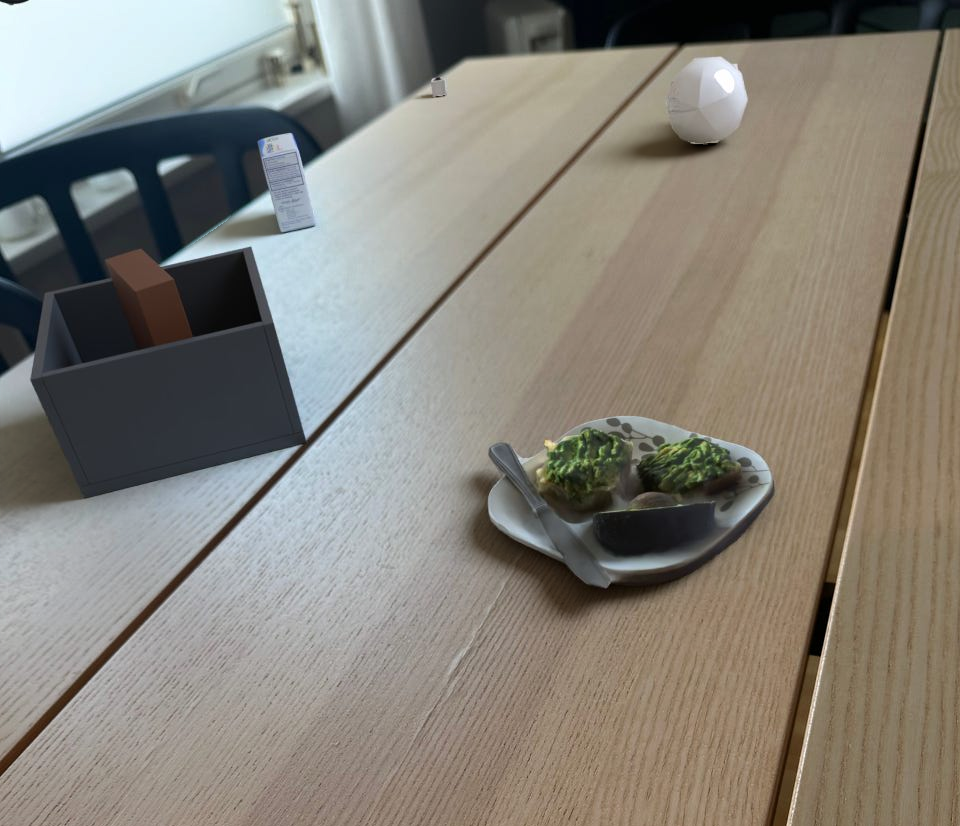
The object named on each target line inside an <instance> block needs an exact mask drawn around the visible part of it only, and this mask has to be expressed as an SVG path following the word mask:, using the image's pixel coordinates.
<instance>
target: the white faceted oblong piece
mask: <svg viewBox="0 0 960 826" xmlns="http://www.w3.org/2000/svg"><path fill="white" fill-rule="evenodd" d="M742 73H743V72H741V71H740V68H739V65H738V63H731V62H730V61H728V60H727V59H725V58H724V57H722V56H709V57H708V56H707V57H694V58H693V59H692V60H691V61H690V62H689V63H687V64H686V65H685V66H684V67H683V68H681V70H679V71H678V72H677V73H676V74H675V75H674V76H673V78H672V81H671V84H670V87H669V90H668V93H667V96H666V97H667V98H666V100H665V106H666V107H665V108H666V112H667V117H668V121H669V123H670V126H671V129H672V131H673V132H674V133H675V134H676V135H677V137H678V138H679V139H680V140H683V141H684V142H686V141H689V142H695V143H706V142H711V141H716V140H721V139H723V138H724V139H725V137H726V138H727V137H728V136H730V135H731V134H732V133H734V131H736V130H737V129H738V128H740V124H741V122H742V119H743V115H744V113H745V110H746V107H747V105H748V101H749V98H748V94H747V90H746V86H745V82H744V77H743V74H742ZM724 139H723V140H724Z"/></svg>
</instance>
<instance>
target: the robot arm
mask: <svg viewBox="0 0 960 826" xmlns="http://www.w3.org/2000/svg"><path fill="white" fill-rule="evenodd" d="M28 1H30V0H0V3H3V4H6V5H8V6H14V5H20V4H24V3H26V2H28Z"/></svg>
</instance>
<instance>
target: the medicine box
mask: <svg viewBox="0 0 960 826" xmlns="http://www.w3.org/2000/svg"><path fill="white" fill-rule="evenodd" d="M294 136H295V135H294V134H293V133H291V132H288V133H281V134H277V135H271V136H267V137H264V138H261V139H259V140H257V147H258V151H259V155H260V159H261V163H262V169H263V173H264V176H265V180H266V184H267V187H268V191H269V194H270V198H271V202H272V205H273V210H274V214H275V216H276V220H277V225H278V227H279V230H280V232H281V233H288V232H292V231H297V230H302V229H306V228H310V227H315V226H317V219H316V215H315V212H314V207H313V204H312V199H311V194H310V191H309V186H308V182H307V178H306V175H305V170H304V166H303V162H302V158H301V154H300V150H299V148H298V145H297V141H296V139H295V137H294Z"/></svg>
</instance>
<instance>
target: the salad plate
mask: <svg viewBox="0 0 960 826" xmlns="http://www.w3.org/2000/svg"><path fill="white" fill-rule="evenodd" d="M542 444H543V446H544V447H545V448H544V449H542V450H541V451H540V452H538V453H536V454H535V455H533V456H532V457H521V456H520V455H519V454H517V452H516V451H515V449H514V448H513V447H512V446H511V443H508V442H498V443H495V444H493V445H491V446H490V447H488V453H487V455H488V457H489V459H490V460H491V462H492V463H493V465H494V466H495V468H496V469H497V471H498V473H499V477H500V478H499V480H497V482H496V483H495V484H493V487H492V488H491V490H490V491H489V494H488V498H487V508H488V517H489V519H490V522H491V523H492V524H493V525H494V526H495V527H496V528H497V529H498V530H499V531H501V532H502V533H503V534H505V535H506V536H508V537H509V538H511V539H512V540H514V541H516V542H518V543H520V544H522V545H524V546H526V547H529V548H530V549H533V550H535V551H537V552H540V553H542V554H544V555H546V556H547V557H550V558H552V559H553V560H556V561H559V562H560V563H563V564H565V565H566V567H567V568H568V569H569V571H570V572H572V573H573V574H574V575H575V576H576V577H577V578H578V579H580V580H581V581H582V582H583V583H584V584H586V585H589V586H593V587H598V588H601V589H607V588H608V587H609V585H610V584H613V585H617V586H626V587H627V586H629V587H639V586H642V587H643V586H650V585H657V584H663V583H668V582H671V581H675V580H677V579H680V578H683V577H686V576H687V575H690V574H692V573H693V572H695V571H697V570H698V569H700V568H701V567H703V566H704V565H705V564H706V563H708V562H709V561H711V560H712V559H714V558H715V557H716V556H718V555H719V554H721V553H722V552H723V551H725V550H726V549H727V548H728V547H730V546H731V545H732V544H734V543H735V542H736V541H738V540H739V539H740V538H741V537H742V535H744V533H746V532H747V530H748V529H749V528H750V527H751V525H753V523H754V522H755V521H756V520H757V518H758V517H759V516H760V515H761V514H762V512H763V511H764V509H765V508H766V507H767V506H768V505H769V503H770V501H771V500H772V499H773V497H774V496H775V491H776V490H775V489H776V488H775V480H774V477H773V472H772V471H771V469H770V467H769V465H768V464H767V462H766V461H765V460H764V458H763V456H761V455H759V454H758V453H757V452H756V451H755V450H752V449H750V448H748V447H745V446H742V445H740V444H736V443H734V442H730V441H725V440H723V439H718V438H714V437H711V436H707V435H703V434H700V433H697V432H694V431H689V430H686V429H683V428H681V427H678V426H677V425H674V424H668V423H666V422H662V421H660V420H654V419H652V418H648V417H644V416H633V415H619V416H611V417H604V418H600V419H595V420H590V421H587V422H583V423H581V424H579V425H577V426H575V427H573V428H572V429H570V430H569V431H567V432H565V433H564V434H563V435H561V436H560V437H558V438H557V439H556V440H555V441H553V442H552V440H551V439H550V438H546V439H545V440H544V441H543V442H542Z"/></svg>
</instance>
